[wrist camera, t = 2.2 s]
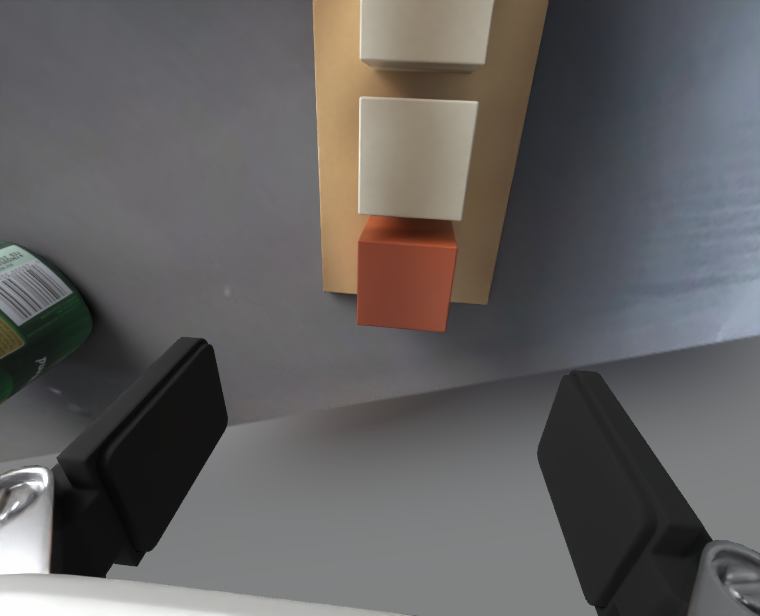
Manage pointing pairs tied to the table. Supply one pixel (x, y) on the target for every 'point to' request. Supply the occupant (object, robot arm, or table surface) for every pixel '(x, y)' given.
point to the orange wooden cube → (405, 273)
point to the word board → (421, 122)
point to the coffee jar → (35, 317)
